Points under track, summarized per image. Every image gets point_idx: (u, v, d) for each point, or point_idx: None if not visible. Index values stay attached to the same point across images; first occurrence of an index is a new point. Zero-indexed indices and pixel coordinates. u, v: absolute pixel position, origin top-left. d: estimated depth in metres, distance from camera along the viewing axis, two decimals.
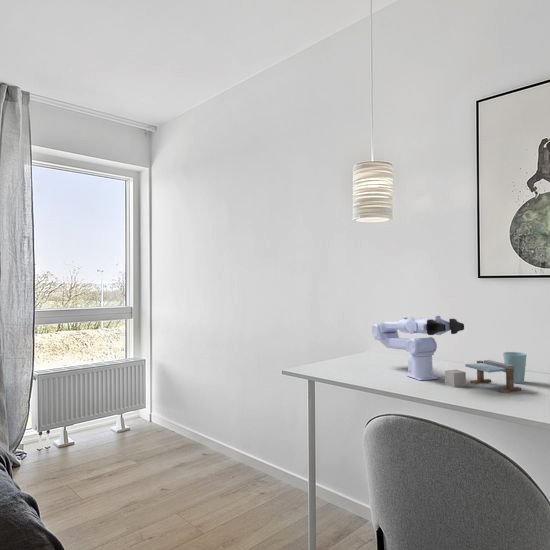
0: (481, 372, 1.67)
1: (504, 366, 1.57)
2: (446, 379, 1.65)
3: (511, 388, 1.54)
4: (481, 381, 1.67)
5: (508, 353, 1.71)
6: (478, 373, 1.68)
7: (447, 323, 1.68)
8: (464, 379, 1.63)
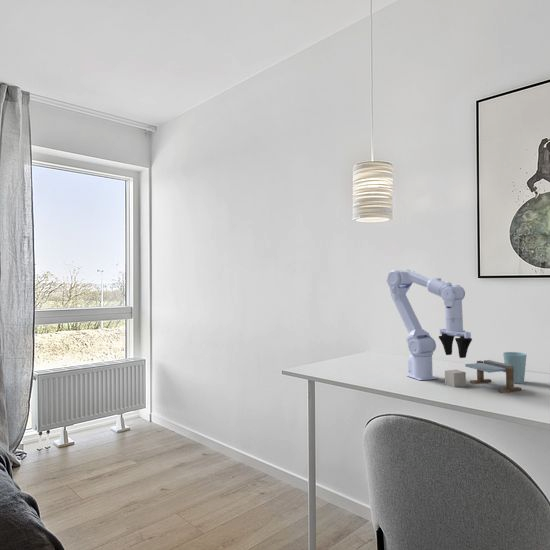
0: (481, 372, 1.67)
1: (504, 366, 1.57)
2: (446, 379, 1.65)
3: (511, 388, 1.54)
4: (481, 381, 1.67)
5: (508, 353, 1.71)
6: (478, 373, 1.68)
7: None
8: (464, 379, 1.63)
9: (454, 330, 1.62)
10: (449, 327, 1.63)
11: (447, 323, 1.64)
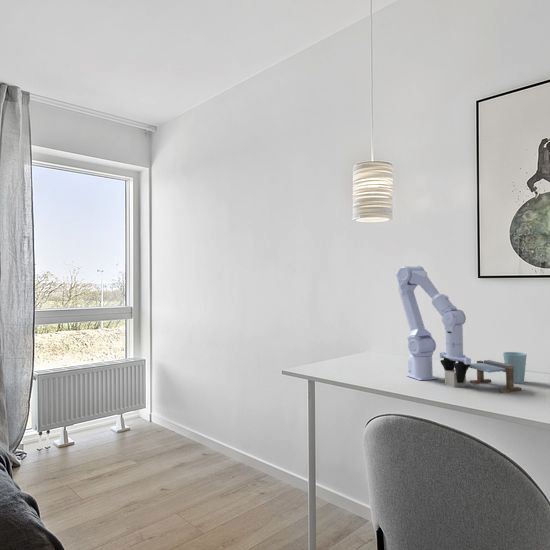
0: (481, 372, 1.67)
1: (504, 366, 1.57)
2: (446, 379, 1.65)
3: (511, 388, 1.54)
4: (481, 381, 1.67)
5: (508, 353, 1.71)
6: (478, 373, 1.68)
7: None
8: (464, 379, 1.63)
9: (454, 355, 1.62)
10: (449, 352, 1.63)
11: (447, 348, 1.64)
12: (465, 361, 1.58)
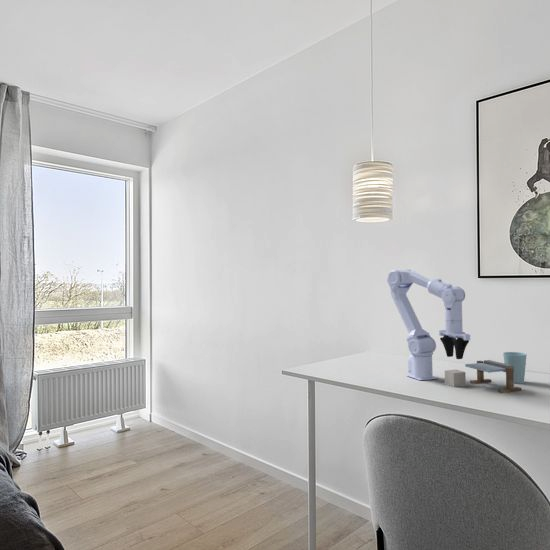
0: (481, 372, 1.67)
1: (504, 366, 1.57)
2: (446, 379, 1.66)
3: (511, 388, 1.54)
4: (481, 381, 1.67)
5: (508, 353, 1.71)
6: (478, 373, 1.68)
7: None
8: (464, 379, 1.63)
9: (454, 332, 1.62)
10: (449, 329, 1.63)
11: (447, 325, 1.64)
12: (464, 337, 1.58)
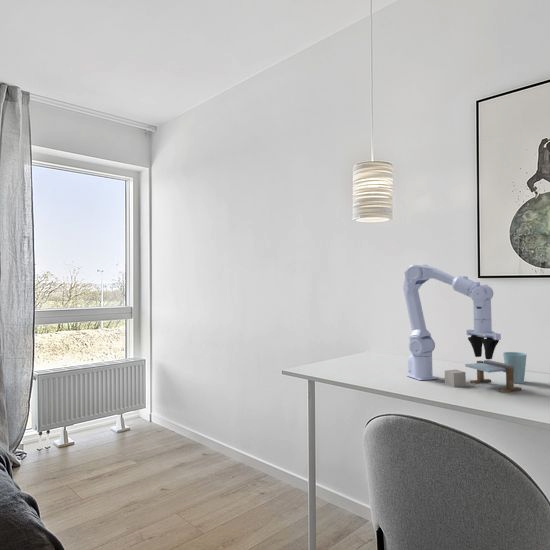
0: (481, 372, 1.67)
1: (504, 366, 1.57)
2: (446, 379, 1.66)
3: (511, 388, 1.54)
4: (481, 381, 1.67)
5: (508, 353, 1.71)
6: (478, 373, 1.68)
7: None
8: (464, 379, 1.63)
9: (483, 331, 1.57)
10: (477, 328, 1.58)
11: (475, 324, 1.59)
12: (495, 336, 1.53)
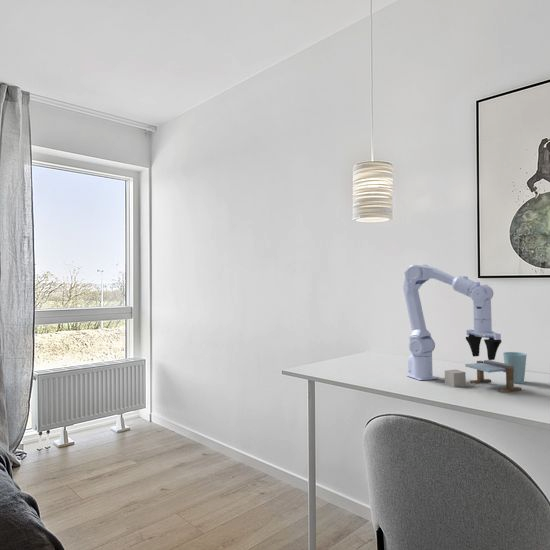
0: (481, 372, 1.67)
1: (504, 366, 1.57)
2: (446, 379, 1.66)
3: (511, 388, 1.54)
4: (481, 381, 1.67)
5: (508, 353, 1.71)
6: (478, 373, 1.68)
7: None
8: (464, 379, 1.63)
9: (483, 331, 1.57)
10: (477, 328, 1.58)
11: (475, 324, 1.59)
12: (495, 336, 1.53)
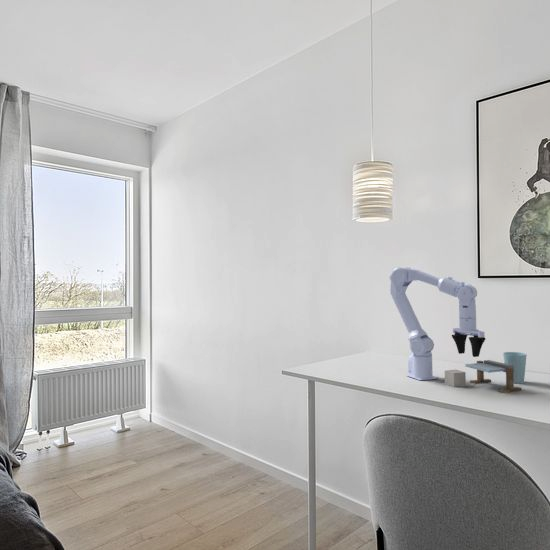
0: (481, 372, 1.67)
1: (504, 366, 1.57)
2: (446, 379, 1.66)
3: (511, 388, 1.54)
4: (481, 381, 1.67)
5: (508, 353, 1.71)
6: (478, 373, 1.68)
7: None
8: (464, 379, 1.63)
9: (468, 329, 1.64)
10: (463, 326, 1.65)
11: (461, 322, 1.66)
12: (479, 334, 1.60)
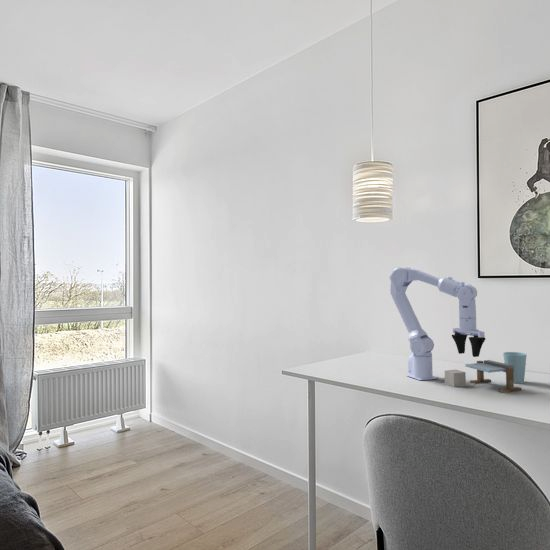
0: (481, 372, 1.67)
1: (504, 366, 1.57)
2: (446, 379, 1.66)
3: (511, 388, 1.54)
4: (481, 381, 1.67)
5: (508, 353, 1.71)
6: (478, 373, 1.68)
7: None
8: (464, 379, 1.63)
9: (468, 329, 1.64)
10: (463, 326, 1.65)
11: (461, 322, 1.66)
12: (479, 334, 1.60)
